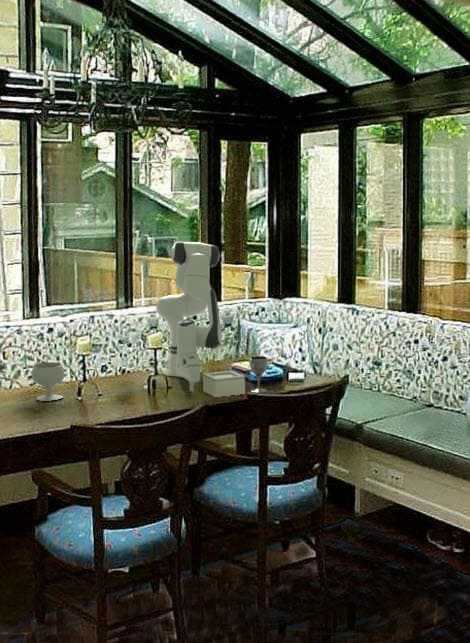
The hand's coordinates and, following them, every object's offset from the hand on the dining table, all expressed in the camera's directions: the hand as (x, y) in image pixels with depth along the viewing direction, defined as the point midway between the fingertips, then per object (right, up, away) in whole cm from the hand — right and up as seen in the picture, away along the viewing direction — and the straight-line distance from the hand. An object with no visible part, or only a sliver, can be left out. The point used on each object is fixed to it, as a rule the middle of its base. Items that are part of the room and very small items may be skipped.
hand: (187, 389), depth 387 cm
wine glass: (+31, -2, +7) cm, 32 cm away
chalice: (-60, -5, -1) cm, 60 cm away
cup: (0, -3, 0) cm, 3 cm away
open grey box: (+16, -2, +5) cm, 17 cm away
